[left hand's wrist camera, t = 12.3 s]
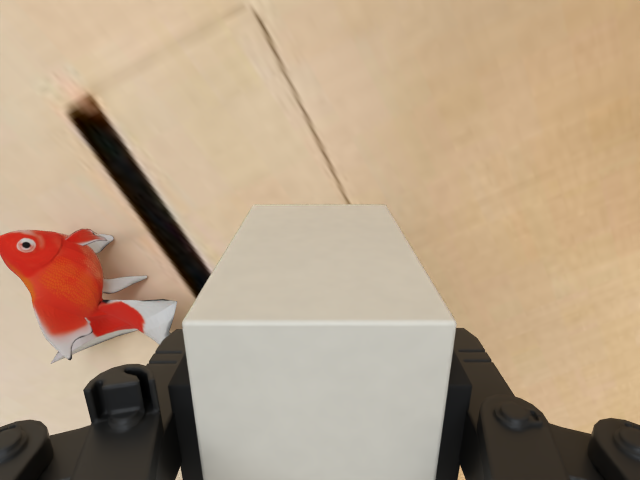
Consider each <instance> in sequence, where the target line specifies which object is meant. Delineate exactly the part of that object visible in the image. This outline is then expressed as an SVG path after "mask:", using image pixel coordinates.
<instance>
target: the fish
mask: <svg viewBox="0 0 640 480" xmlns="http://www.w3.org/2000/svg"><path fill="white" fill-rule="evenodd" d="M113 239H114V238H113V236H111V235H104V234H97V233H95V232H93V231H92V230H90V229H80V230H78V231H76V232H74V233H73V234H71V235H70V236H69V235H65V234H60V233H56V232H50V231H38V230H18V231H13V232H9V233H6V234H3V235H1V236H0V255H1V257H2V259H3V261H4V262H5V264H6V265H7V266H8V268H9V269H10V270H12V271H13V272H14V273H15V274H16V275H17V276H18V277H20V279H21V280H22V281H23V282H24V284H25V285H26V287H27V288H28V290H29V292H30V293H31V296H32V303H33V308H34V311H35V315H36V318H37V320H38V323H39V326H40V328H41V330H42V332H43V334H44V336H45V338H46V339H47V340H48V341H49V342H50V344H51V345H52V346H53V347H54V348H55V349H56V350H58V353H57V354H56V356H55V358H54V359H53V361H52V362H51V364H52V363H54V362H56V361H58V360H61V359H63V358H65V357H66V358H67V359H68V360H71V359H72V354H74V353H77V352H79V351H81V350H83V349H86V348H89V347H91V346H94V345H96V344H99V343H101V342H104V341H106V340H109V339H111V338H114V337H117V336H120V335H123V334H127V333H130V332H133V331H136V330H139V331H141V332H142V333H144V334H145V335H147V336H148V337H150V338H151V339H153V340H154V341H155V342H157V343H158V344H159V345H160V344H161V342H162V340H163V339H164V338H166V337H167V336H168V335H170V334H171V333H170V332H169V330H170V327H171V324H172V321H173V318H174V313H175V309H176V304H177V301H171V300H165V299H159V300H145V301H138V300H103V299H102V292H103V293H108V294H110V293H115V292H118V291H120V290H122V289H124V288H126V287H128V286H130V285H132V284H134V283H136V282H139V281H141V280H143V279H146V278H147V276H129V277H121V278H116V279H104V278H103V271H102V267H101V264H100V261H99V259H98V257H97V255H96V253H98V252H100V251H102V250H103V248H104V247H105V246H106V245H107V244H109V243H110V242H111V241H113Z"/></svg>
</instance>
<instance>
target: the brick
mask: <svg viewBox="0 0 640 480" xmlns="http://www.w3.org/2000/svg"><path fill="white" fill-rule="evenodd" d="M182 328H183V335H184V343H185V350H186V357H187V364H188V372H189V379H190V386H191V394H192V401H193V408H194V415H195V423H196V430H197V437H198V445H199V452H200V459H201V466H202V474H203V480H435V479H436V472H437V464H438V457H439V450H440V442H441V435H442V428H443V420H444V413H445V405H446V398H447V391H448V383H449V376H450V369H451V361H452V354H453V347H454V339H455V332H456V321H455V319H454V317H453V315H452V314H451V312H450V310H449V309H448V307H447V306H446V304H445V302H444V301H443V299H442V297H441V296H440V294H439V292H438V291H437V289H436V287H435V286H434V284H433V282H432V281H431V279H430V277H429V276H428V274H427V272H426V271H425V269H424V267H423V266H422V264H421V262H420V261H419V259H418V257H417V256H416V254H415V252H414V251H413V249H412V247H411V246H410V244H409V242H408V241H407V239H406V237H405V236H404V234H403V232H402V231H401V229H400V227H399V226H398V224H397V222H396V221H395V219H394V217H393V216H392V214H391V213H390V211H389V209H388V208H387V206H386V205H253V206H252V208H251V210H250V211H249V213H248V215H247V216H246V218H245V219H244V221H243V223H242V224H241V226H240V228H239V229H238V231H237V233H236V234H235V236H234V238H233V239H232V241H231V242H230V244H229V246H228V247H227V249H226V251H225V252H224V254H223V256H222V257H221V259H220V261H219V262H218V264H217V265H216V267H215V269H214V270H213V272H212V274H211V275H210V277H209V279H208V280H207V282H206V284H205V285H204V287H203V288H202V290H201V292H200V293H199V295H198V297H197V298H196V300H195V302H194V303H193V305H192V307H191V308H190V310H189V311H188V313H187V315H186V316H185V318H184V320H183V322H182Z"/></svg>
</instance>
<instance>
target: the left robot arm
mask: <svg viewBox="0 0 640 480" xmlns="http://www.w3.org/2000/svg"><path fill="white" fill-rule="evenodd" d="M83 391H84V395H85V399H86V403H87V407H88V411H89V415H90V419H91V425H89V426H86V427H83V428H80V429H76V430H72V431H67V432H63V433H59V434H55V435H50V436H49V433H48V430H47V427H46V426H45V425H44V424H43V423H42V422H40V421H35V420H24V421H17V422H14V423H11V424H8V425H5V426H2V427H0V480H175V479H176V476H177V474H178V471H179V468H180V466H181V471H182V478H183V480H203V474H202V466H201V459H200V452H199V445H198V437H197V430H196V423H195V415H194V408H193V401H192V394H191V386H190V379H189V372H188V364H187V357H186V350H185V343H184V335H183V329H176V330H175V331H174V332H172V333H171V334H170V335H168V336H167V337H166V338H164V339H163V340H162V342H161V344H160V345H159V347H158V348H157V350H156V353H155V354H154V355H153V356H152V358H151V359H150V361H149V364H147V365H146V366H144V365H140V364H126V365H122V366H118V367H114V368H111V369H109V370H107V371H105V372H103V373H100V374H99V375H98V376H96V377H95V378H94V379H92V380H91V381H90V382H89V383H88V385H87V386H86V387H85V389H84V390H83ZM460 466H461V468H462V471H463V473H464V476H465V479H466V480H640V425H638V424H635V423H632V422H629V421H626V420H621V419H614V418H608V419H603V420H599V421H598V422H597V423H596V424H595V425H594V428H593V431H592V434H588V433H584V432H580V431H576V430H571V429H567V428H563V427H559V426H556V425H553V424H550V423H549V422H548V421H547V419H546V418H545V416H544V415H543V413H542V412H541V411H540V410H538V409H537V408H536V407H535V406H534V405H532V404H530V403H529V402H527V401H525V400H523V399H521V398H518V397H515V396H514V394H513V393H512V391H511V390H510V388H509V386H508V385H507V383H506V382H505V380H504V379H503V377H502V376H501V374H500V373H499V371H498V369H497V368H496V366H495V365H494V363H493V362H491V359H490V357H489V356H488V354H487V352H485V349H484V348H483V346H482V345H481V343H480V342H479V340H478V339H477V338H476V337H475V336H474V335H472V334H471V333H470V332H468V331H467V330H466V329H464V328H456V332H455V339H454V347H453V354H452V361H451V369H450V376H449V383H448V391H447V398H446V405H445V413H444V420H443V428H442V435H441V442H440V450H439V457H438V464H437V472H436V479H435V480H457V479H458V473H459V467H460Z"/></svg>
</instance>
